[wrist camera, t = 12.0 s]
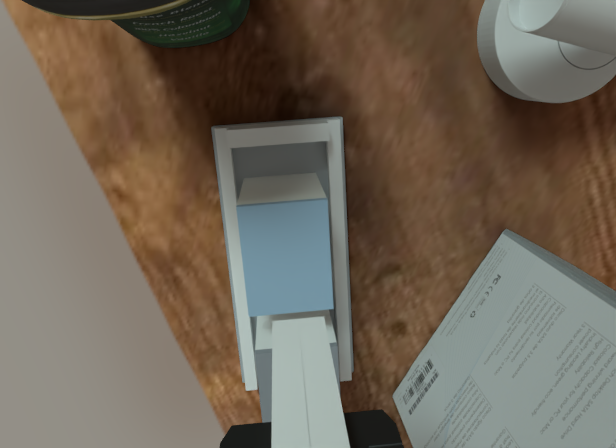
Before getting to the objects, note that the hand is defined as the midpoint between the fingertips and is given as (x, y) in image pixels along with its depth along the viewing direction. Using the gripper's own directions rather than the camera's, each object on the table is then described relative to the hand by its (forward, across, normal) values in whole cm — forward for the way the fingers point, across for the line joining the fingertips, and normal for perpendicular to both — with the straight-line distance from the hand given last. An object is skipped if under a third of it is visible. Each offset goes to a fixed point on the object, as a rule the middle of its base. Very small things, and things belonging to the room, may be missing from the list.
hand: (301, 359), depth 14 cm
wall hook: (+19, +16, +10) cm, 27 cm away
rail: (+19, 0, -4) cm, 19 cm away
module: (+18, 0, -1) cm, 18 cm away
